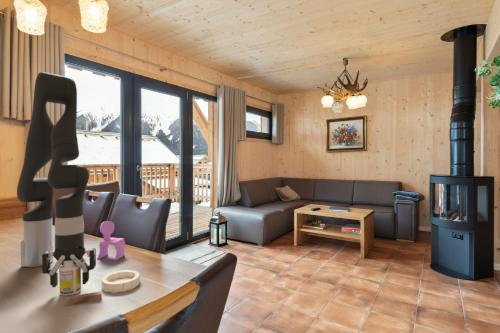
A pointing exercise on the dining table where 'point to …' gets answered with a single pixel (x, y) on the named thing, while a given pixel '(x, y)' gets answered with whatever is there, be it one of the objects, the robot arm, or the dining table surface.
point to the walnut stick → (85, 298)
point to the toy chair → (110, 241)
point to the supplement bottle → (69, 278)
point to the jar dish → (120, 281)
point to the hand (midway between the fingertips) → (70, 284)
